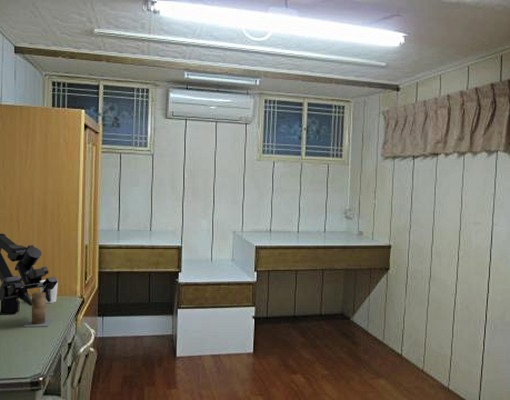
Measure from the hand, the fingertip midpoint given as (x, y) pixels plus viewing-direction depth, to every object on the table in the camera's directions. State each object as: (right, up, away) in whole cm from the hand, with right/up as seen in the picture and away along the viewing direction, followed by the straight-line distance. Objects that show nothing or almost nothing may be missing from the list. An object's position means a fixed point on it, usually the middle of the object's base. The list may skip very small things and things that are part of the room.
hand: (40, 303), depth 188 cm
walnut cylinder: (-2, -8, +1) cm, 8 cm away
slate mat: (-1, -9, +1) cm, 9 cm away
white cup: (-12, -7, +35) cm, 37 cm away
